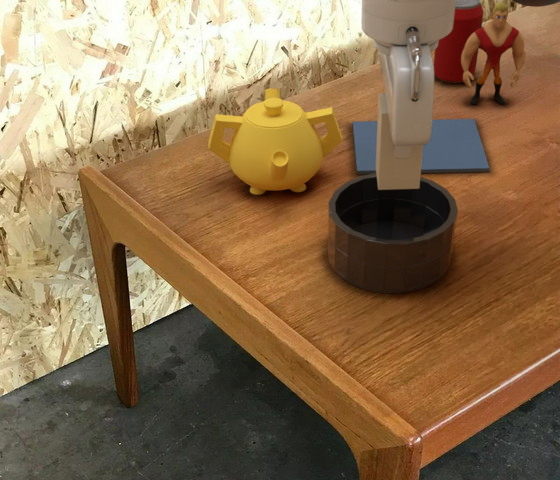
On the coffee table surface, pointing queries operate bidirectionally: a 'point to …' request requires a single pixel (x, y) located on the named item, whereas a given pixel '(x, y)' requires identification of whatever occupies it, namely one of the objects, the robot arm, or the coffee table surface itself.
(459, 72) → the beverage can
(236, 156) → the teapot
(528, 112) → the coffee table surface
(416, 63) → the robot arm
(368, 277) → the pot
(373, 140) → the blue rectangular board
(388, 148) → the item
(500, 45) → the action figure
